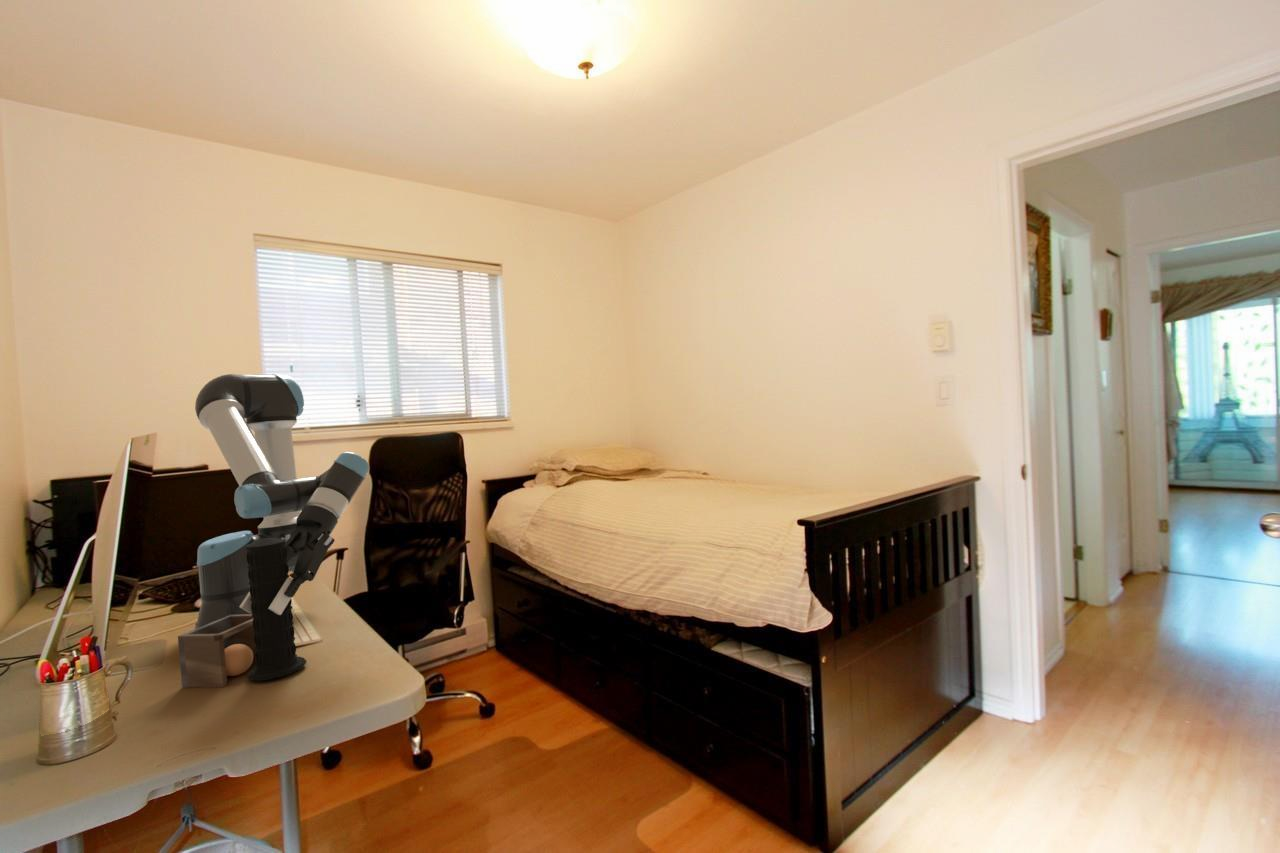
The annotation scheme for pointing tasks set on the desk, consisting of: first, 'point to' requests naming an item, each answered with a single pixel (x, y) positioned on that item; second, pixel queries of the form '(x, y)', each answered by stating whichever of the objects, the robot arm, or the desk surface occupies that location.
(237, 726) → the desk surface
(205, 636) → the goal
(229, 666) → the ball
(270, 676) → the handle grip
